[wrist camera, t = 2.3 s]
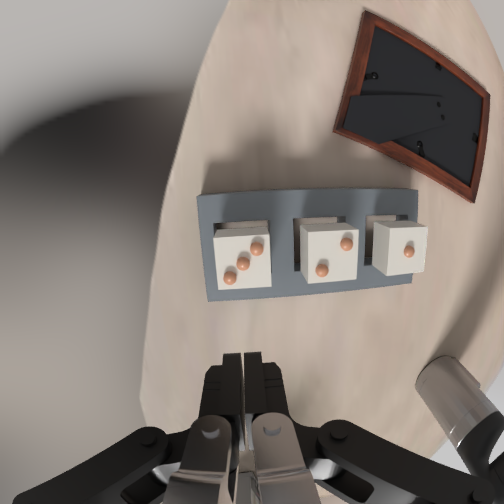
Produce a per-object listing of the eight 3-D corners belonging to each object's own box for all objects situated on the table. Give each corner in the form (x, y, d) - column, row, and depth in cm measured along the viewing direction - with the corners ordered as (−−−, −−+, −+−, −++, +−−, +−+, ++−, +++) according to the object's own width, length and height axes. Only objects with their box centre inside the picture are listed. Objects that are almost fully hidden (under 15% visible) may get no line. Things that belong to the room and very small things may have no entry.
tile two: (343, 221, 29) (360, 230, 25) (342, 265, 31) (357, 280, 26) (298, 223, 29) (308, 233, 25) (299, 269, 31) (308, 285, 26)
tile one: (407, 219, 29) (430, 227, 25) (404, 260, 31) (425, 272, 26) (372, 220, 29) (391, 228, 25) (370, 263, 31) (388, 277, 26)
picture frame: (331, 132, 31) (467, 201, 33) (336, 130, 29) (475, 203, 31) (360, 15, 26) (483, 96, 28) (365, 9, 24) (491, 94, 26)
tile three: (265, 225, 29) (269, 235, 25) (267, 271, 31) (271, 288, 26) (217, 228, 29) (212, 238, 25) (221, 274, 30) (218, 291, 26)
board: (405, 188, 32) (418, 190, 29) (400, 275, 35) (411, 282, 32) (200, 194, 32) (196, 196, 29) (210, 291, 35) (207, 301, 32)
